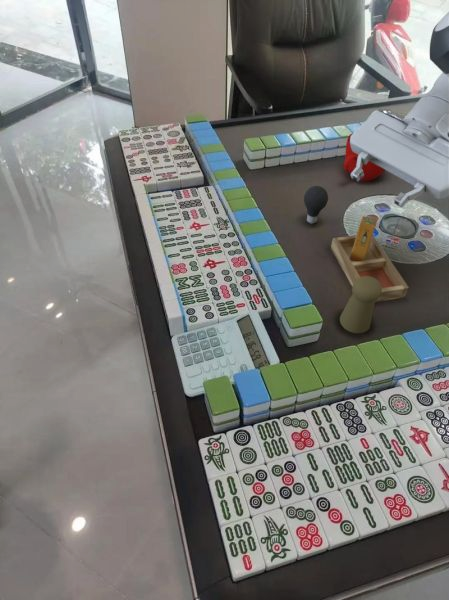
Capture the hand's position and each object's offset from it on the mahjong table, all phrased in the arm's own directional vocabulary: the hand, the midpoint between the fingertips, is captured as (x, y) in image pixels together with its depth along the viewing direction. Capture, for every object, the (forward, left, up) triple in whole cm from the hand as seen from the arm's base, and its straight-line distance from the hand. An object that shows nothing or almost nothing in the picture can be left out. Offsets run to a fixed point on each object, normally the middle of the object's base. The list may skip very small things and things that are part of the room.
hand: (375, 191), depth 76 cm
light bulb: (+1, -21, -23) cm, 32 cm away
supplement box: (-5, -7, -23) cm, 24 cm away
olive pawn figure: (+3, +11, -23) cm, 26 cm away
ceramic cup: (-19, -38, -23) cm, 49 cm away
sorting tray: (-5, -2, -23) cm, 24 cm away
